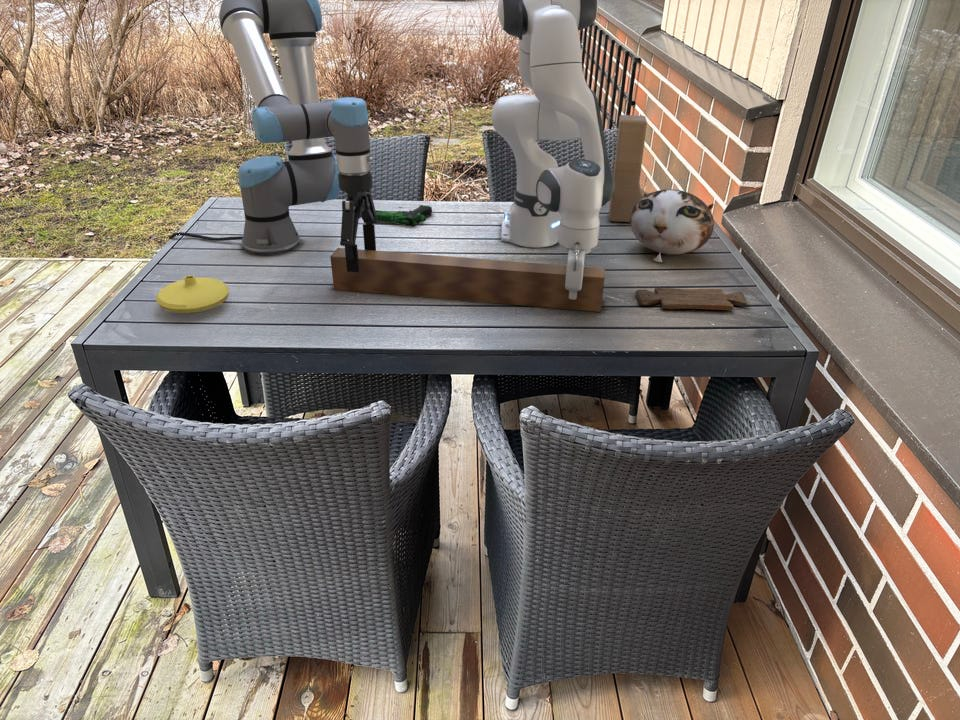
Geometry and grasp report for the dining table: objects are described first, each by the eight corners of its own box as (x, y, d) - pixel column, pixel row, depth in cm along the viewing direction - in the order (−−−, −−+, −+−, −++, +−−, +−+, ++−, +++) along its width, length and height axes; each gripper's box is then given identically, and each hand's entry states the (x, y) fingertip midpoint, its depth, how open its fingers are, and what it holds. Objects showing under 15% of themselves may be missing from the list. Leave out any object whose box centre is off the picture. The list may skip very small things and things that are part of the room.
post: (333, 289, 173) (330, 256, 169) (340, 280, 178) (337, 247, 173) (600, 312, 165) (604, 277, 160) (601, 301, 169) (604, 268, 165)
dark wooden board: (752, 313, 165) (739, 295, 174) (753, 306, 165) (741, 288, 173) (640, 309, 166) (633, 291, 174) (641, 302, 165) (634, 284, 173)
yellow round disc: (203, 285, 174) (198, 258, 170) (245, 302, 166) (240, 274, 162) (144, 308, 163) (137, 279, 159) (186, 328, 155) (179, 298, 151)
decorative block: (659, 224, 215) (674, 122, 200) (609, 221, 217) (620, 119, 201) (657, 216, 221) (672, 116, 206) (608, 213, 223) (619, 114, 208)
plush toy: (610, 241, 188) (634, 172, 190) (626, 265, 204) (648, 200, 205) (693, 258, 178) (718, 184, 179) (703, 281, 193) (726, 213, 195)
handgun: (437, 205, 219) (415, 219, 207) (438, 215, 220) (415, 229, 208) (391, 199, 224) (366, 212, 212) (391, 208, 226) (367, 222, 214)
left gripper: (353, 188, 149) (361, 282, 159) (386, 158, 170) (391, 243, 181) (319, 186, 150) (329, 279, 160) (355, 157, 171) (362, 241, 182)
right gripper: (591, 254, 150) (585, 312, 157) (593, 221, 167) (588, 275, 175) (561, 251, 151) (556, 310, 158) (566, 219, 168) (562, 273, 175)
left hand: (362, 260), depth 171 cm, fingers open, 13 cm apart
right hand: (573, 291), depth 166 cm, fingers closed on post, 5 cm apart
